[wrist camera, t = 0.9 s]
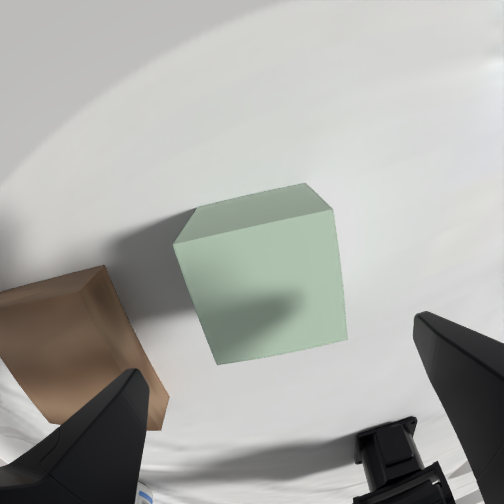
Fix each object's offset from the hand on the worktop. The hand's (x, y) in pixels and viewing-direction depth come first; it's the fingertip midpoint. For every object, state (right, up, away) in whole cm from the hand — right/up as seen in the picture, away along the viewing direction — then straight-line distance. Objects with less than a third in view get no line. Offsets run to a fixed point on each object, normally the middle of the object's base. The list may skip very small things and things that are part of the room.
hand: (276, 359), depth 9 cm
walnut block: (-15, -4, +12) cm, 20 cm away
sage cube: (0, +4, +9) cm, 10 cm away
